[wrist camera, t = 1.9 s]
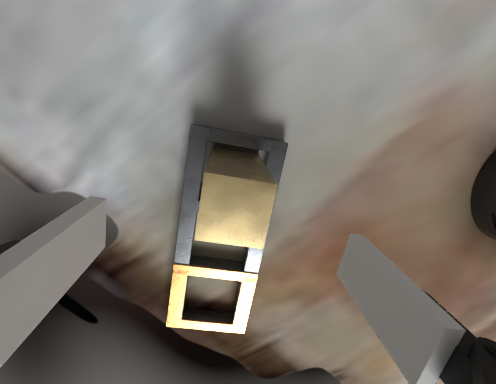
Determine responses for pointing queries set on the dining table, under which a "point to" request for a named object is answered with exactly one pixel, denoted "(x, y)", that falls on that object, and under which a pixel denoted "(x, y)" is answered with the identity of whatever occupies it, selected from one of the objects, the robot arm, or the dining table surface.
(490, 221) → the robot arm
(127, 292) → the dining table surface
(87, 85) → the dining table surface
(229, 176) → the brass peg
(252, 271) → the rail
